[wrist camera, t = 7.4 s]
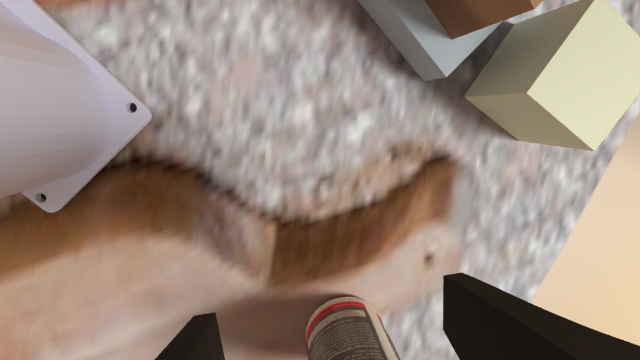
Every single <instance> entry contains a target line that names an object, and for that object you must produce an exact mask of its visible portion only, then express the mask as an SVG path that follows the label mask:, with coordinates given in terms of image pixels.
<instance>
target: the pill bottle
mask: <svg viewBox="0 0 640 360" xmlns="http://www.w3.org/2000/svg"><path fill="white" fill-rule="evenodd" d="M306 341H307V352H308V360H401V359H400V357H399V355H398V353H397V351H396V349H395V347H394V344H393V342H392V341H391V339H390V336H389V334H388V332H387V330H386V328H385V326H384V324H383V322H382V320H381V318H380V316H379V314H378V313H377V311H376V310H375V308H374V307H373V306H372V305H371V304H369V303H368V302H366V301H364V300H362V299H359V298H356V297H340V298H335V299H332V300H330V301H328V302H326V303H324V304H323V305H321V306H320V307H319V308H318V309H317V310H316V311H315V312H314V313H313V315H312V316H311V318H310V320H309V322H308V325H307V328H306Z"/></svg>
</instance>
